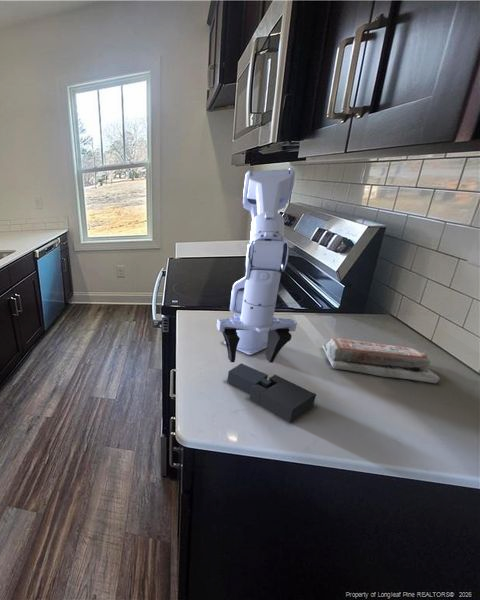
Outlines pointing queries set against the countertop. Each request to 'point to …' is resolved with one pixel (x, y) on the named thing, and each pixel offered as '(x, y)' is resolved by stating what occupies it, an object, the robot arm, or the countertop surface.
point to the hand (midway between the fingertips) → (249, 360)
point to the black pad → (283, 398)
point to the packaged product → (379, 360)
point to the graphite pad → (247, 378)
